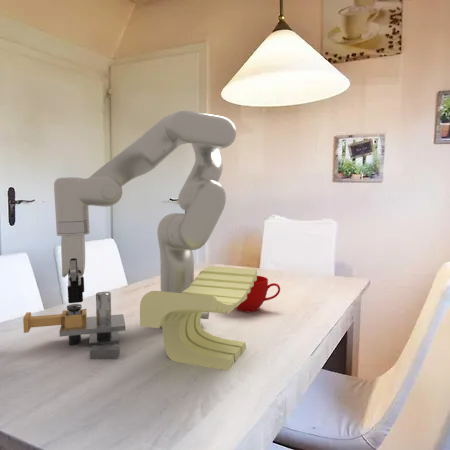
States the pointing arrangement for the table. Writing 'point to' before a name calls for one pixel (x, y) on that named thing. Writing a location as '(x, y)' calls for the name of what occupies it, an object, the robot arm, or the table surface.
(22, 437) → the table surface
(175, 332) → the slatted curved stool
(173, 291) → the robot arm
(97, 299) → the grey metal fixture
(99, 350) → the wedge bar
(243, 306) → the ceramic cup
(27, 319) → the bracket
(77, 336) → the pin
